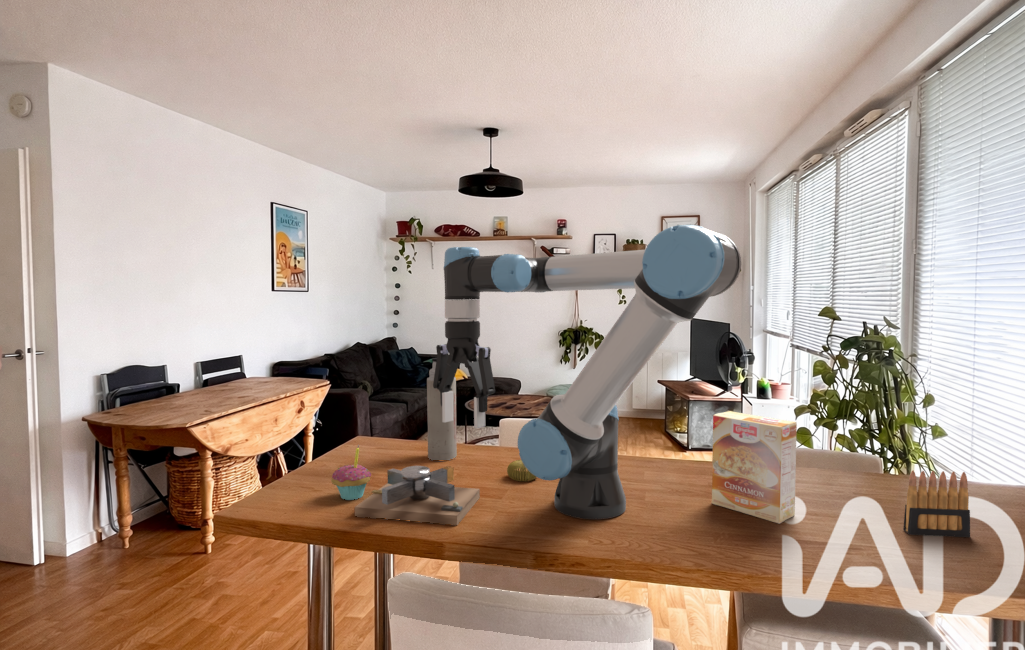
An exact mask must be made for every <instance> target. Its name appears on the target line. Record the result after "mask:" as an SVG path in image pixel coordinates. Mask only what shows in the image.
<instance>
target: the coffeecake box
mask: <svg viewBox="0 0 1025 650" xmlns="http://www.w3.org/2000/svg"><path fill="white" fill-rule="evenodd" d="M797 426H798V425H797V421H790V420H787V419H786V420H785V419H779V418H774V417H773V418H772V417H767V416H761V415H755V414H749V413H744V412H743V413H742V412H738V411H730V410H729V411H728V410H727V411H725V412H719V413H715V414H712V457H711V458H712V461H711V462H712V463H711V464H712V467H711V469H712V470H711V471H712V472H711V473H712V474H711V504H713V505H715V506H719V507H723V508H726V509H729V510H733V511H736V512H738V513H743V514H746V515H750V516H752V517H757V518H759V519H762V520H765V521H769V522H773V523H775V524H779V525H780V524H782V523H783V522H785V521H787V520H788V519H791V518H792V517H795V515H796V513H795V512H796V507H795V506H796V472H797V471H796V470H797V468H796V466H797V464H796V463H797V429H798V428H797Z"/></svg>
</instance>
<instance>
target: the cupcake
mask: <svg viewBox="0 0 1025 650" xmlns="http://www.w3.org/2000/svg"><path fill="white" fill-rule="evenodd" d="M359 447H360V445H359V444H358V445H357V448H355V454H354V464H346V465H344V466H343V465H342V466H339V467H338V468H337V469H336V470H335V471H334V472H333V473H332V474H331V479H330V480H331V483H332V484H333V485H334V486H336V488H337V490H338V493H339V495H340V498H341V499H342V500H344V499H345V501H353V500H354V499H355V500H358V498H359V499H361V498H362V497H363V495H364V493H365V490H366V489H365V488H366V486H367V483H369V482H370V481H371V476H372V473H371V471H370V470H369V469H368V468H366V467H365V466H363V465H361V464H358V460H359V452H360V448H359ZM355 500H354V501H355Z"/></svg>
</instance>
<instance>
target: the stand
mask: <svg viewBox="0 0 1025 650" xmlns="http://www.w3.org/2000/svg"><path fill="white" fill-rule="evenodd" d="M388 486H391V484H388V482H387V483H385V484H384V485H382V486H381V487H380V488H379V489H373V490H372V491H371V493H372V494H371V495H369V496H368V497H367V498H365V499H363V500H362V501H361V502H359V503H358V504H357V505H356V506H354V517H355V516H357V517H356V518H365V517H368V519H376V518H386V519H385V520H388V519H400V520H410V521H420V522H419V523H422V522H430V523H429V524H433V523H440V524H439V525H445V524H451V525H450V526H456V525H457V526H458V525H459V524H460V523H461V521H462V520H463V519H464V518H465V516H467V514H468V513H469V511H471V510H472V508H473V506H474V505H475V504H476V503H477V501H478V500H479V499H480V493H481V492H480V488H475V487H474V488H471V487H461V486H460V487H458V486H454V487H455V500H452V501H450V502H448V501H445V500H442V499H438V498H435V497H431V496H429V497H428V498H425V499H412V498H410V497H407V498H405V499H402V500H399V501H396V502H394V503H391V504H388V505H386V504H383V503H382V488H385V487H388ZM369 517H370V518H369ZM410 521H409V522H410ZM459 522H460V523H459Z"/></svg>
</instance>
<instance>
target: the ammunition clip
mask: <svg viewBox="0 0 1025 650" xmlns="http://www.w3.org/2000/svg"><path fill="white" fill-rule="evenodd" d="M928 478H929V479H928V485H927V476H926V472H925V470H922V471H921V472H920V475H919V479H918V486H917V476H916V472H915V471H914V470H913V469H912V471H911V472H910V474H909V479H908V486H907V491H906V504H905V505H904V518H903V528H902V530H903V531H904V532H905V533H906V534H908V535H910V536H931V537H951V538H952V537H953V538H955V537H956V538H971V510H970V509H969V502H970V501H969V491H968V490H969V488H968V486H969V484H968V477H967V474H966V472H965V471H963V472H962V473H961V475H960V480H959V487H958V479H957V475H956V472H955V471H952V472H951V474H950V477H949V481H948V482H949V483H948V482H947V476H946V472H945V471H944V470H943V471H942V470H941V473H940V476H939V480H938V484H937V476H936V473H935V471H934V470H932V471H931V473H930V475H929V477H928ZM947 483H948V484H949V485H947ZM937 485H938V486H937ZM917 487H918V488H917ZM937 488H938V489H937Z"/></svg>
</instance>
